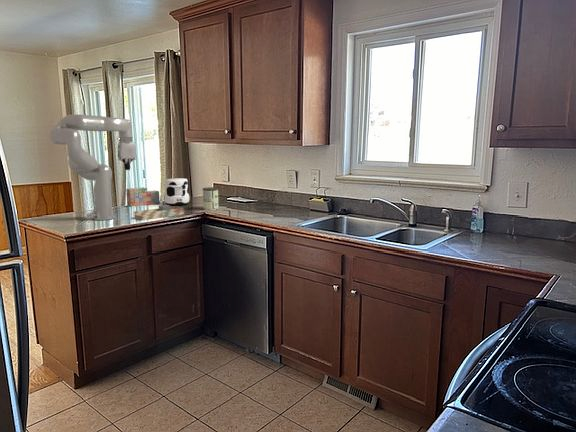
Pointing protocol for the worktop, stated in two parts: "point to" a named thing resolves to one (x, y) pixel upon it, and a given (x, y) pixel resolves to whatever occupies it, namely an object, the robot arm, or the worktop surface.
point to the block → (164, 207)
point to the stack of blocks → (141, 197)
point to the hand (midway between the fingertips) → (127, 169)
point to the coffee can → (210, 198)
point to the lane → (158, 213)
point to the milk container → (176, 191)
